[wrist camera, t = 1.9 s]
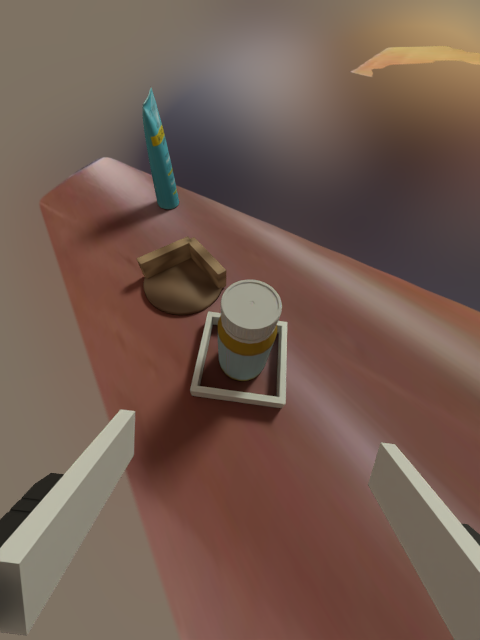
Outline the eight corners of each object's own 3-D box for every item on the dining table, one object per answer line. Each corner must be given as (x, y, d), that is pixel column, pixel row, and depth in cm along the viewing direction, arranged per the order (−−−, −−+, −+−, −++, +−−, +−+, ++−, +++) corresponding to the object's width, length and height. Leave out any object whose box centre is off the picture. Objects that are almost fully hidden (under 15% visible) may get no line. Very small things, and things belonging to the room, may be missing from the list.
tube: (178, 213, 54) (159, 104, 38) (157, 213, 54) (127, 102, 38) (179, 194, 58) (162, 87, 42) (159, 194, 58) (133, 86, 41)
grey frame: (283, 329, 40) (287, 322, 38) (281, 408, 33) (285, 404, 31) (208, 319, 40) (208, 311, 38) (191, 395, 33) (189, 390, 31)
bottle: (247, 392, 34) (262, 347, 21) (209, 364, 36) (201, 307, 23) (273, 355, 37) (298, 297, 25) (236, 331, 39) (242, 266, 26)
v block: (219, 320, 40) (218, 305, 36) (129, 308, 40) (119, 292, 37) (231, 259, 48) (232, 242, 44) (155, 249, 48) (149, 231, 44)
